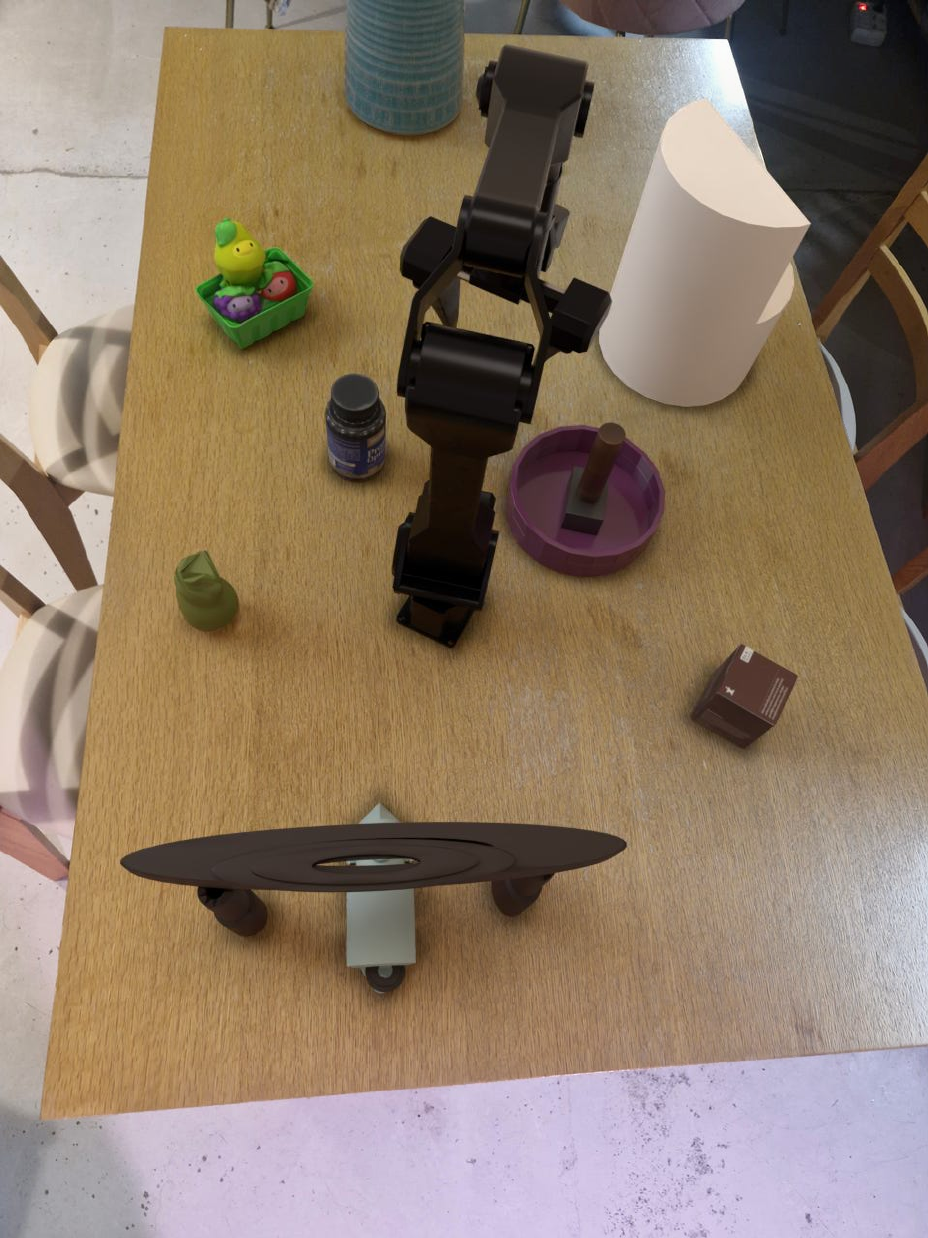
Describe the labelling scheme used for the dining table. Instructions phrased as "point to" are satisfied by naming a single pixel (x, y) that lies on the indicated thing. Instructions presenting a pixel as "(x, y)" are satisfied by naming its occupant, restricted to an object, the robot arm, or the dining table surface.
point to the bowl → (542, 501)
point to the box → (744, 697)
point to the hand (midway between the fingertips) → (493, 350)
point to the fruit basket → (252, 286)
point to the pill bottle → (356, 428)
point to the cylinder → (700, 265)
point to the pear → (204, 594)
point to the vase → (405, 63)
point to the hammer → (592, 482)
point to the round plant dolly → (372, 873)
